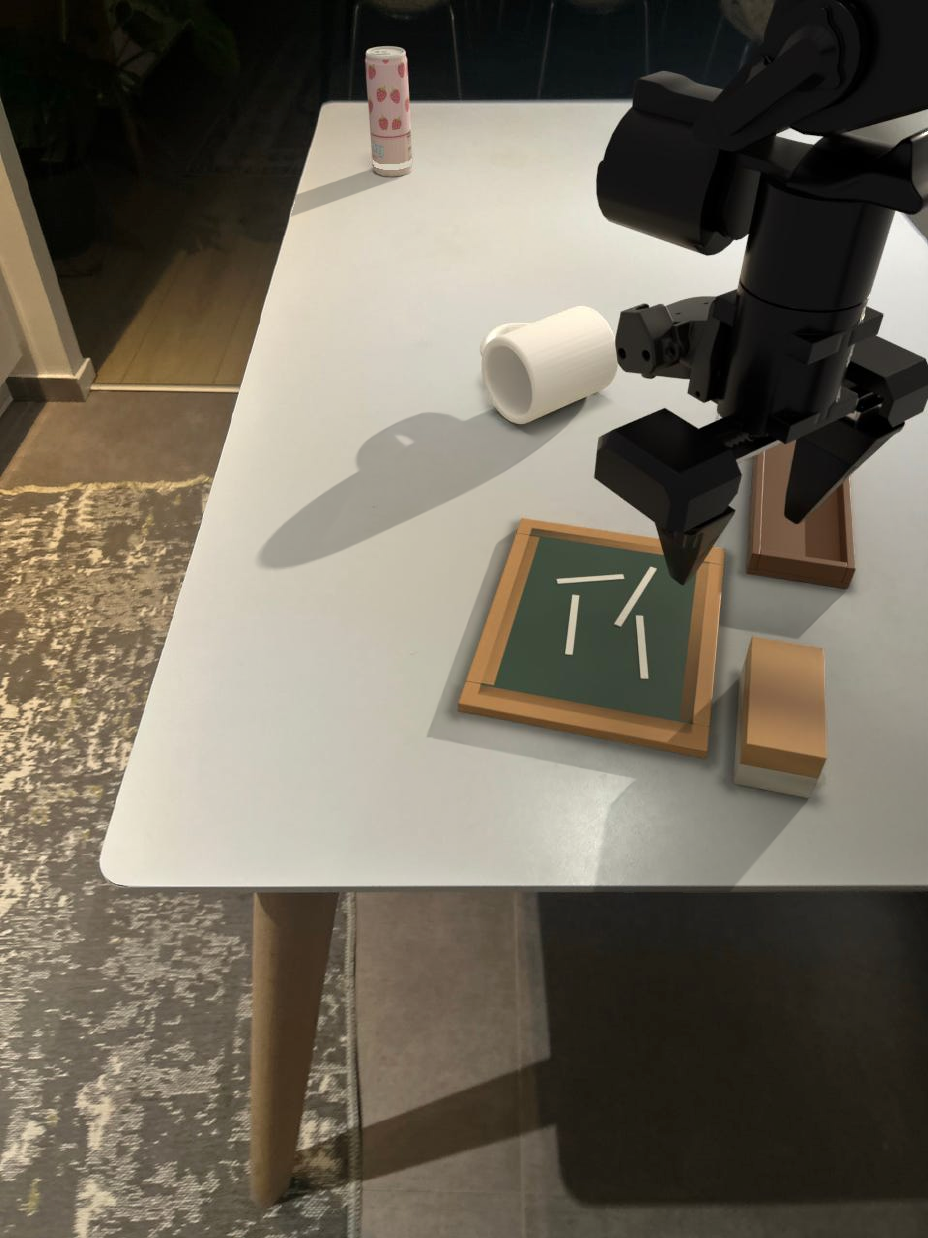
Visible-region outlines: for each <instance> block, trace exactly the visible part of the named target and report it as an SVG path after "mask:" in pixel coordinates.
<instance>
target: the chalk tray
mask: <svg viewBox="0 0 928 1238" xmlns="http://www.w3.org/2000/svg"><path fill="white" fill-rule="evenodd" d="M795 443H796V440H794V441H792V442H790V443H788V444H784V443H780V444H778V445H776V446H774V447H772V448H770V449H768V450H766V451H763V452H761V453H759V454H757V455H755V456H753V457H752V458H753V459H752V460H753V461H752V474H751V475H752V477H751V490H750V491H751V492H750V510H749V525H748V541H747V558H746V559H747V561H746V574H751V575H758V576H763V577H768V578H769V577H771V578H776V579H783V580H790V581H796V582H802V583H803V582H804V583H809V584H814V585H821V586H828V587H835V588H840V589H849V588H850V585H851V583H852V580H853V578H854V575H855V573H856V569H857V567H856V565H857V563H856V553H855V552H856V551H855V535H854V523H853V522H854V521H853V508H852V507H853V505H852V493H851V492H852V491H851V478H850V476H851V475H850V476H849V477H848V478H847V479H846V480H845V481H844V482H843V483H842V484H841V485H840V486H839V487H838V488H837V489H836V490H835V491H834V492H833V493H831V494H830V495H829V496H828V497H827V498H826V499H825V500H824V501H823V502H822V503H821V504H820V505H819V506H818V507H817V508H816V509H815V510H814V511H813V512H812V513H811V514H810V515H809V516H808V517H807V518H806V519H805V520H804V521H803V522H801V523H800V524H794V523H793V522H791V521H790V520H788V519H787V518H785V516H784V507H785V497H786V490H787V485H788V480H789V474H790V469H791V464H792V459H793V453H794V448H795Z"/></svg>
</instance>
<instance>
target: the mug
mask: <svg viewBox="0 0 928 1238" xmlns="http://www.w3.org/2000/svg"><path fill="white" fill-rule="evenodd" d="M615 337H616V336H615V335H614V332H613V330H612V329H611V327H610V325H609V323H608V322H607V320H606V319H605V318H604V317H603V316H602V315H601V313H599V312H598V311H597V310H595V309H593V308H591V307H589V306H585V305H577V306H573V307H571V308H568V309H565V310H563V311H560V312H558V313H555V314H552V315H549V316H548V317H545V318H541V319H539V320H537V321H535V322H534V321H533V322H532V323H528V322H510V323H504V324H501V325H498V326H496V327H494V328H493V329H491V330H490V331H489V332H488V333H487V334H486V335H485V336H484V337H483V339H482V341H481V342H480V345H479V354H480V356H481V375H482V381H483V384H484V388H485V390H486V394H487V395H488V397H489V400H490V402H491V403H492V404H493V406H494V407H495V409H496V410H497V412H498V413H499V414H500V415H501V416H502V417H504V418H505V419H506V420H508V421H509V422H510V423H513V424H517V425H525V424H528V423H530V422H532V421H535V420H537V419H539V418H542V417H543V416H546V415H548V414H551V413H553V412H555V411H557V410H559V409H562V408H564V407H566V406H568V405H571V404H573V403H575V402H577V401H579V400H582V399H584V398H586V397H588V396H591V395H594V394H595V393H599V392H600V391H602V390H604V389H606V388H608V386H610V385H611V384H612V382H613V381H614V379H615V377H616V376H617V372H618V368H619V364H618V362H617V354H616V347H615Z"/></svg>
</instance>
